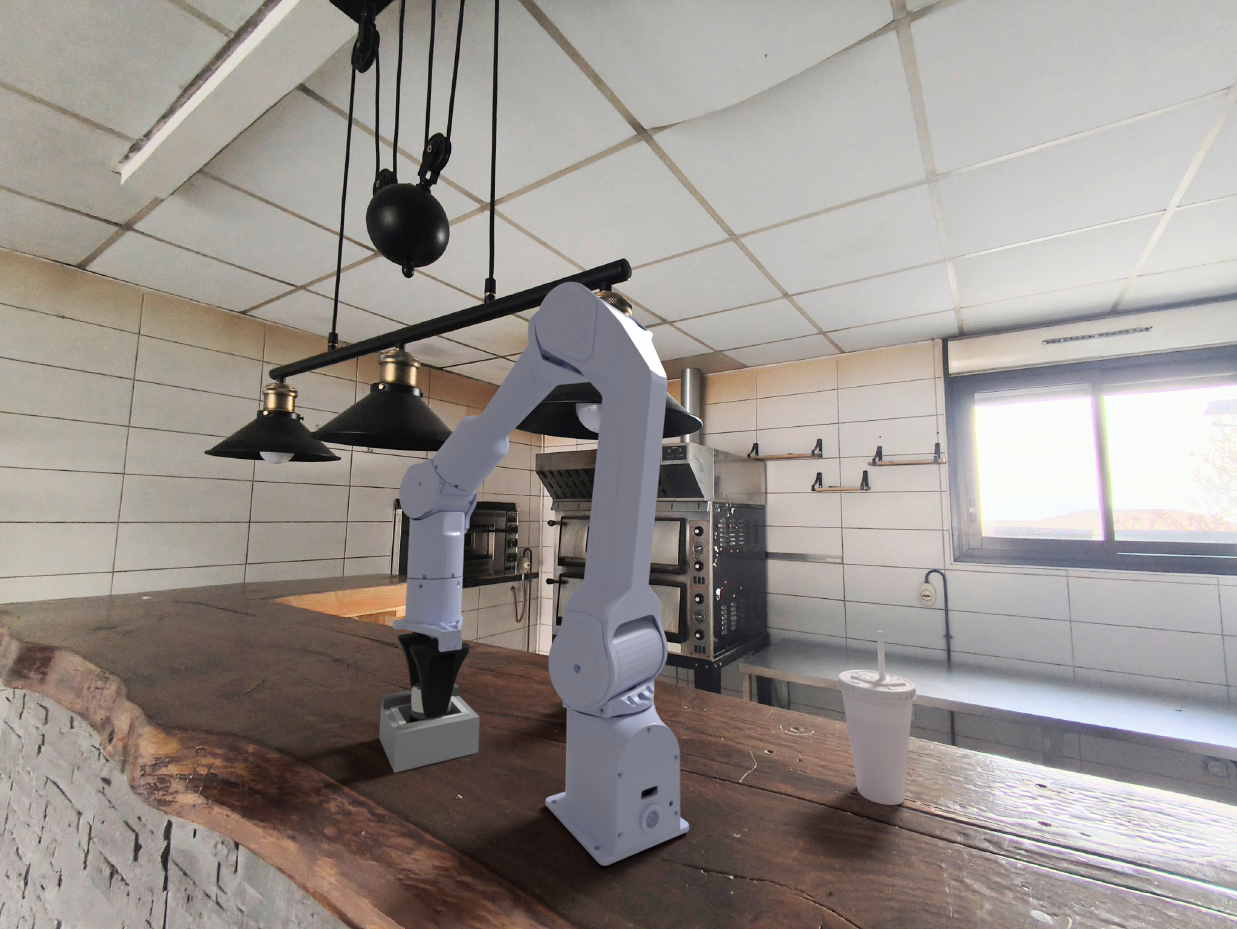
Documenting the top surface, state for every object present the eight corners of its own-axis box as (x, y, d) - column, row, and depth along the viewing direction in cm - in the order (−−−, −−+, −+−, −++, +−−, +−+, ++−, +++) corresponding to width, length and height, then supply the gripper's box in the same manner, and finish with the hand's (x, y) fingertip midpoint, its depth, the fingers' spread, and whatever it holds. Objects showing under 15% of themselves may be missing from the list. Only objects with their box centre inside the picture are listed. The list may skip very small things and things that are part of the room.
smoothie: (921, 823, 41) (912, 642, 42) (835, 799, 44) (829, 632, 46) (923, 787, 46) (915, 628, 48) (846, 769, 50) (841, 620, 51)
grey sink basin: (478, 752, 52) (480, 701, 53) (394, 772, 48) (397, 717, 49) (453, 722, 60) (455, 678, 60) (379, 738, 56) (381, 690, 56)
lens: (453, 749, 53) (455, 687, 54) (409, 757, 51) (413, 693, 52) (446, 734, 57) (449, 676, 58) (405, 741, 55) (408, 681, 56)
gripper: (384, 572, 60) (377, 694, 58) (410, 586, 48) (402, 740, 46) (446, 569, 63) (441, 683, 62) (484, 581, 51) (479, 723, 50)
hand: (429, 707), depth 54 cm, fingers open, 5 cm apart
